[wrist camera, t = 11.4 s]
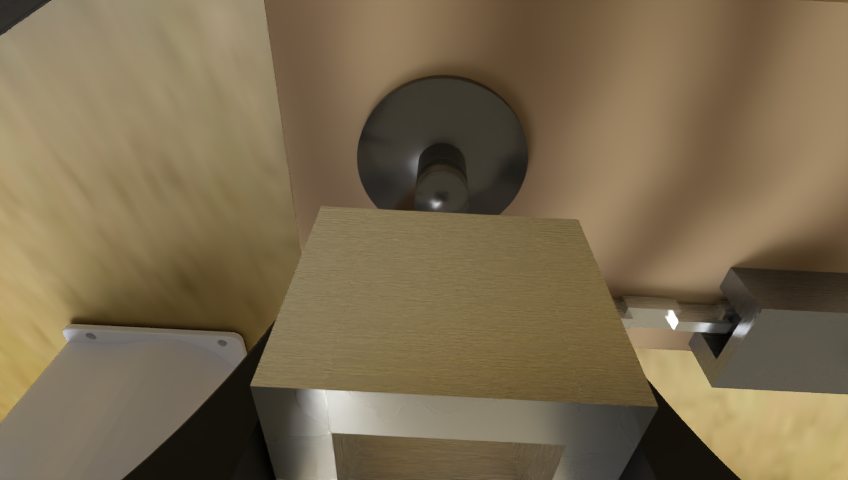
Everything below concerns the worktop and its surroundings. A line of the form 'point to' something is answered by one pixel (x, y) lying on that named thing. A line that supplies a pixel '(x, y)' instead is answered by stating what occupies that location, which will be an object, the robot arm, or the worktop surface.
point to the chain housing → (780, 333)
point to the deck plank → (605, 123)
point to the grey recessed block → (449, 354)
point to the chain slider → (677, 314)
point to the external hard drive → (17, 11)
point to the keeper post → (442, 148)
